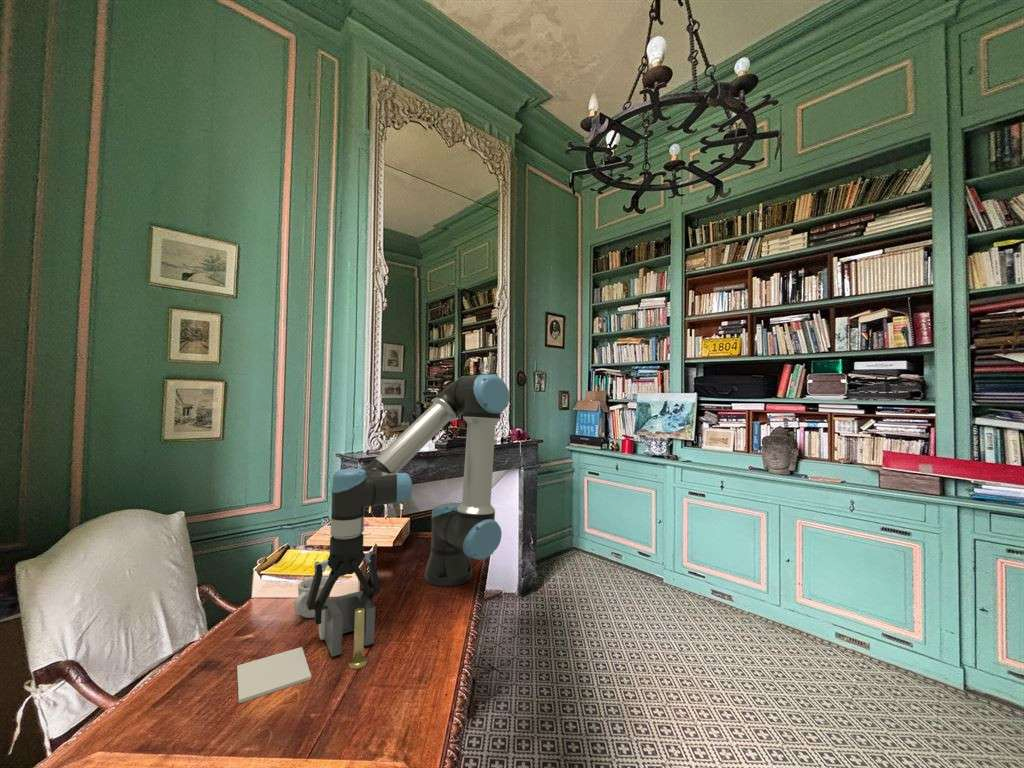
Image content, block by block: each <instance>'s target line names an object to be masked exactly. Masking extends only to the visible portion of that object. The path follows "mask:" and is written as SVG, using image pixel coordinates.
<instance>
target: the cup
mask: <svg viewBox="0 0 1024 768" xmlns="http://www.w3.org/2000/svg"><path fill="white" fill-rule="evenodd" d="M328 577H329V576H323V575H322V579H321V583H320V587H319V590H318V594H317V598H316V601H317V599H318V597H319V595H320V593H321V591H322V589H323V587H324V585H325V583H326V581H327V579H328ZM313 578H314V576H313V577H308V578H305V579H303V580H302V581H300V582H299V584H298V586H297V592H298V596H297V597H296V599H295V602H294V606H293V607H294V609H293V610H294V613H295V614H296V615H299V616H301V617H303V618H305V619H315V610H309V609H308V607H307V605H306V603H307V599H308V596H309V592H310V589H311V585H312V581H313ZM330 595H331V593H330V594H329V596H328V598H327V599H330ZM316 601H315V602H316Z"/></svg>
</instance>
